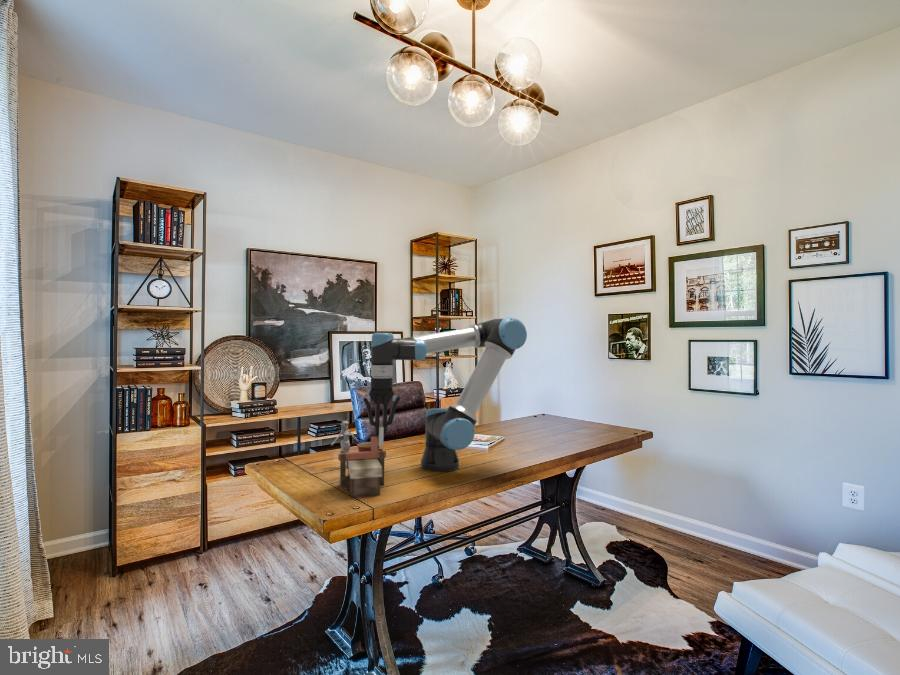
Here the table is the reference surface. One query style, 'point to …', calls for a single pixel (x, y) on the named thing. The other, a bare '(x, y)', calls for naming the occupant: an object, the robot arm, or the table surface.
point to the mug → (365, 447)
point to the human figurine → (345, 437)
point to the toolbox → (361, 480)
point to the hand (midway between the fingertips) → (380, 445)
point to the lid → (364, 468)
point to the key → (366, 454)
